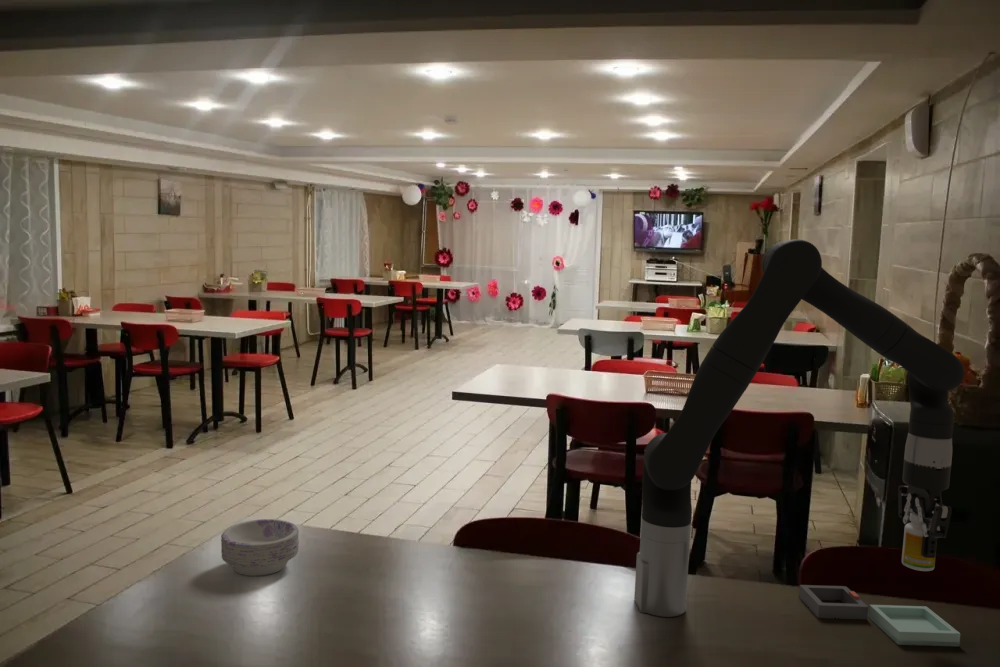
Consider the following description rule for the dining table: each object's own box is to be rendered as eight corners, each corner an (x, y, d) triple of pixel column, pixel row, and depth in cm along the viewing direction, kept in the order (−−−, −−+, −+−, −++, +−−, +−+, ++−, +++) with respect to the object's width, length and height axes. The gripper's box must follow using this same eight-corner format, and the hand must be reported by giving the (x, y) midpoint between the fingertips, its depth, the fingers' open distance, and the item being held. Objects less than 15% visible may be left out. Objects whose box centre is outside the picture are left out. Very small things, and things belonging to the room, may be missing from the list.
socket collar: (818, 617, 151) (819, 602, 151) (798, 596, 161) (799, 582, 160) (867, 619, 151) (868, 604, 151) (845, 598, 161) (846, 583, 160)
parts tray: (897, 644, 142) (899, 631, 141) (868, 616, 153) (869, 604, 152) (959, 646, 142) (960, 633, 142) (925, 618, 153) (926, 606, 153)
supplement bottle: (938, 573, 143) (943, 520, 142) (906, 570, 144) (911, 517, 143) (928, 562, 148) (933, 511, 147) (897, 559, 149) (902, 508, 148)
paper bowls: (205, 577, 159) (205, 538, 158) (246, 550, 174) (246, 515, 173) (275, 587, 155) (276, 547, 155) (310, 559, 170) (311, 522, 170)
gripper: (887, 449, 151) (879, 536, 153) (928, 469, 137) (919, 565, 139) (926, 451, 151) (918, 537, 153) (972, 471, 137) (962, 566, 139)
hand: (919, 550), depth 146 cm, fingers closed on supplement bottle, 5 cm apart
